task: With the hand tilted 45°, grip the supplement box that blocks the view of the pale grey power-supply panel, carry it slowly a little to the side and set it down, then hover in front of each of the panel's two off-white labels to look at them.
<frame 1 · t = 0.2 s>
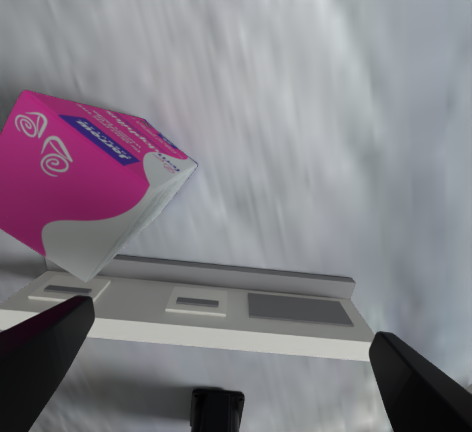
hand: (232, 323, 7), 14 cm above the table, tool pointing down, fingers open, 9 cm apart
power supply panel: (202, 288, 24), on the table
supplement box: (154, 166, 20), on the table
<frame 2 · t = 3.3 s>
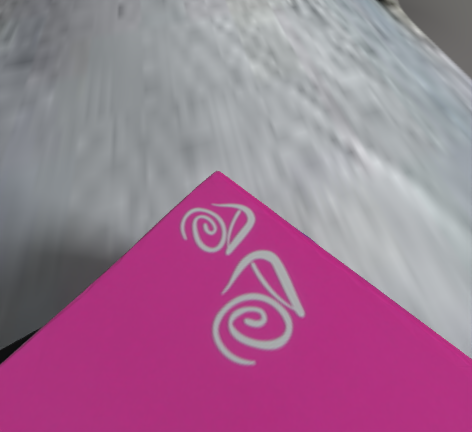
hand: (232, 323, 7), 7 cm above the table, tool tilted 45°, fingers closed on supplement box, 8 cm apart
supplement box: (225, 347, 13), on the table, touching gripper
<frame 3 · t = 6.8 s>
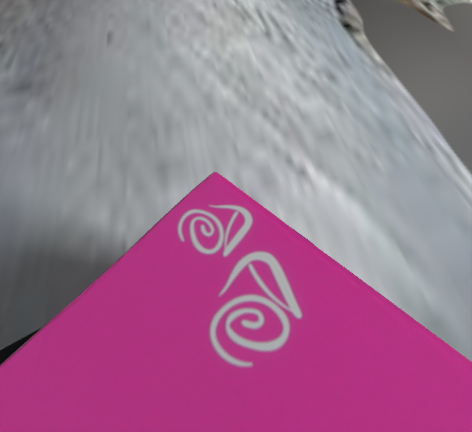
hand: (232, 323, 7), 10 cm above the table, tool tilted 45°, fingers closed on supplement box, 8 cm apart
supplement box: (225, 346, 13), point 3 cm above the table, touching gripper
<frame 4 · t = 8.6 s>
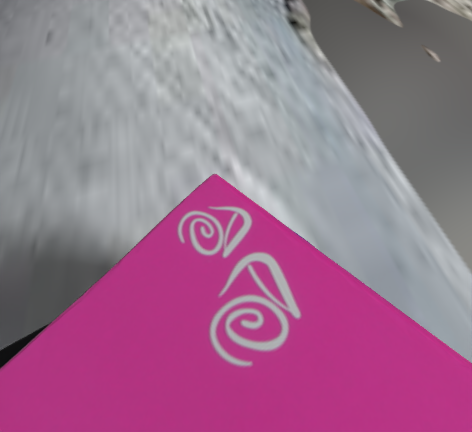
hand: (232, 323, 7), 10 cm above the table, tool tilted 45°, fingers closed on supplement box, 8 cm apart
supplement box: (225, 346, 13), point 3 cm above the table, touching gripper
when the fingers open (8 cm above the table, at t = 10.0 s): supplement box drops 1 cm, on the table.
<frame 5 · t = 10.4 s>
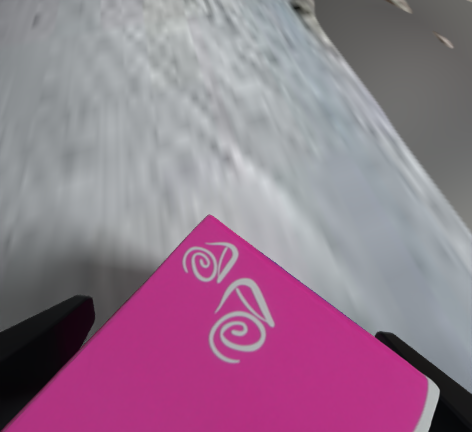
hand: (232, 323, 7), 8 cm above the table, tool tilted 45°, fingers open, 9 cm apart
supplement box: (224, 348, 14), on the table
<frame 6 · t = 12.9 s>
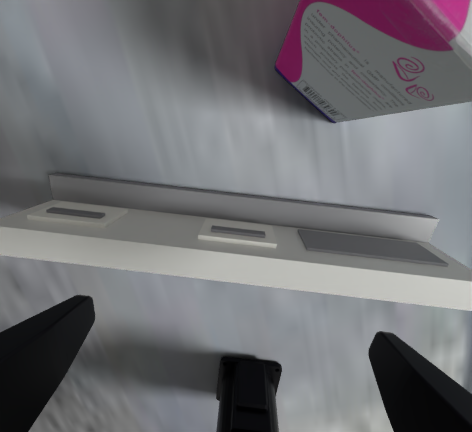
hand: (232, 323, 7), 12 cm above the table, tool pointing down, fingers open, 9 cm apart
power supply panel: (238, 228, 19), on the table
supplement box: (333, 57, 15), on the table
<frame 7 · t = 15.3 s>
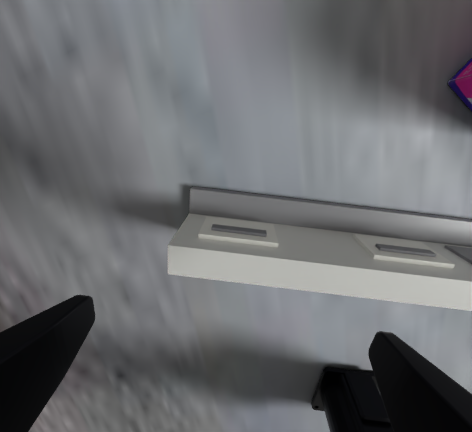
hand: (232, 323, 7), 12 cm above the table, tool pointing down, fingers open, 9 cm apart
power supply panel: (370, 242, 19), on the table
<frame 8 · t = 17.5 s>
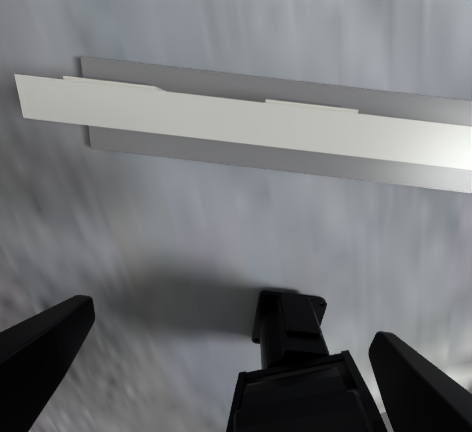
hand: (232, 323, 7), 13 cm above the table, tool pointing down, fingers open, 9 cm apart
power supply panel: (291, 129, 17), on the table
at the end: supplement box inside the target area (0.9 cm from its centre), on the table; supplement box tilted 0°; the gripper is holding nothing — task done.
